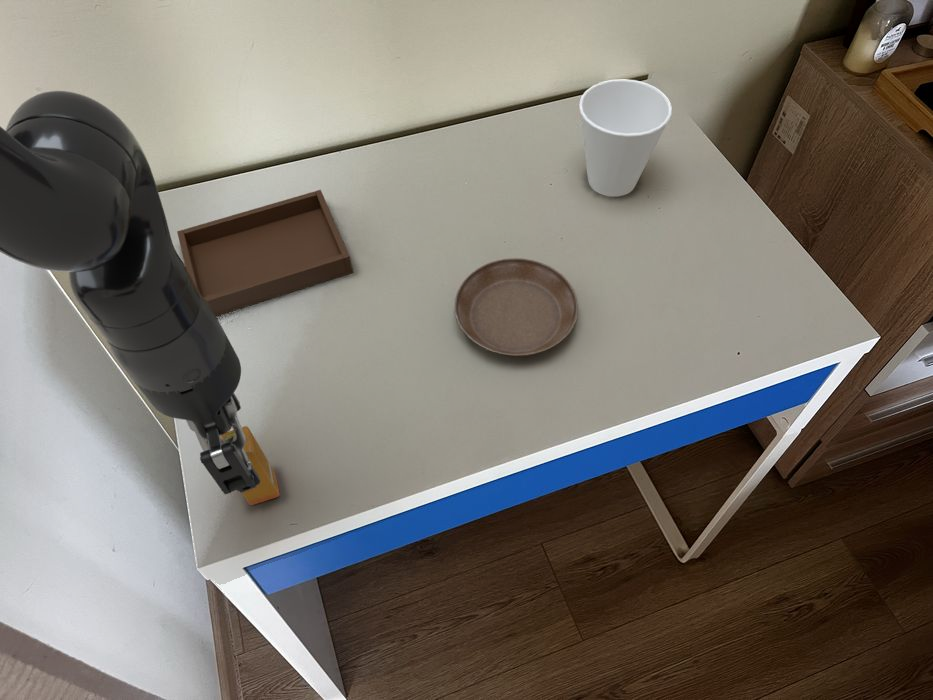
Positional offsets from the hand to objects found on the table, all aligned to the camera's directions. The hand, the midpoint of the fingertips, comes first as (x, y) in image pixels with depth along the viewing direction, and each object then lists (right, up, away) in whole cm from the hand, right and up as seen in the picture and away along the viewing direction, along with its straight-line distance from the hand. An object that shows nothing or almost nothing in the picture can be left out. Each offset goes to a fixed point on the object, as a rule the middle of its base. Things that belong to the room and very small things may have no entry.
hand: (239, 446), depth 67 cm
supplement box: (0, -6, +8) cm, 9 cm away
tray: (-5, +21, +26) cm, 34 cm away
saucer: (+28, +13, +20) cm, 36 cm away
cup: (+42, +33, +34) cm, 64 cm away
